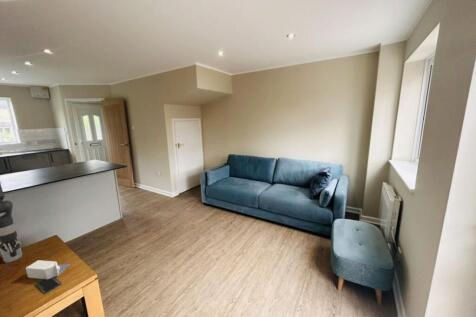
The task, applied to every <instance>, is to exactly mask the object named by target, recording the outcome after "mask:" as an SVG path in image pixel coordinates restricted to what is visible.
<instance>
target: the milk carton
mask: <svg viewBox="0 0 476 317" xmlns="http://www.w3.org/2000/svg"><path fill="white" fill-rule="evenodd" d="M58 265H59V264H58V262H57V261H55V260H54V261H52V260H41V259H39V260H36V261H35V262H33V263H31V264H30V265H28V266H26V267H25V270H26V275H27V277H28V278H29V279H40V280H43V279H50V278H52V277H55V278H56V277H58V276H60V275H59V274H58V273H59V269H60V266H58Z"/></svg>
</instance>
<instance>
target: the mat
mask: <svg viewBox="0 0 476 317" xmlns="http://www.w3.org/2000/svg"><path fill="white" fill-rule="evenodd" d="M57 265H58V266H60V269H59V273H58V274H59V276H60V275H62V274H63V273H64V272H65V270H67V269H68V268H69V267H70V266H71V265H72V264H71V263H67V264H57Z"/></svg>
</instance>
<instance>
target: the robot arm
mask: <svg viewBox="0 0 476 317" xmlns="http://www.w3.org/2000/svg"><path fill="white" fill-rule="evenodd" d="M4 199H5V193H4V191H3V188H2V184H1V182H0V214H3V215H1V216H0V253H1V257H2V260H3V262H5V263H12V262H14V261H16V260H18V259H20V258H21V257H23V252H22V249H21V246H22V245H23V241H19V238H18V233H17V229H16V226H15V224H14V218H13V217H12V212H13V206H14V205H13V202H12V201H11V200H4Z"/></svg>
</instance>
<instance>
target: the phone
mask: <svg viewBox="0 0 476 317" xmlns="http://www.w3.org/2000/svg"><path fill="white" fill-rule="evenodd" d="M61 285H62V282H61V280H59V279H57V278H56V276H55V277H52V278H50V279H40V281H38V282H36V283H35V287H37V288H38V289H39V290H40V291H41V292H42V293H43V294H48V293H50V292H51V291H53V290H55V289H57V288H58V287H60V286H61Z"/></svg>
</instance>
